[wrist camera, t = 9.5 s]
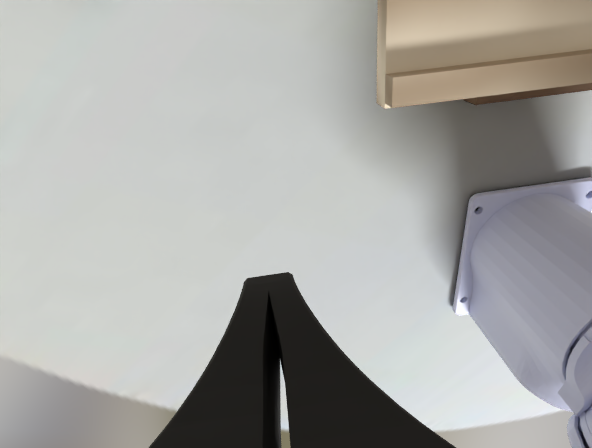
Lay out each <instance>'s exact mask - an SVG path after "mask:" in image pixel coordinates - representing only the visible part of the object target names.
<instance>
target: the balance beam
mask: <svg viewBox="0 0 592 448" xmlns="http://www.w3.org/2000/svg"><path fill="white" fill-rule="evenodd" d="M586 83H592V0H378V23H377V104H379V105H380V106H382V107H383V108H384V109H386V108H396V107H404V106H412V105H420V104H428V103H436V102H444V101H452V100H460V99H468V98H476V97H483V96H491V95H499V94H507V93H515V92H523V91H531V90H539V89H547V88H555V87H563V86H570V85H578V84H586Z"/></svg>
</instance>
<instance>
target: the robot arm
mask: <svg viewBox="0 0 592 448" xmlns="http://www.w3.org/2000/svg"><path fill="white" fill-rule="evenodd" d="M588 192H589V193H588ZM587 193H588V194H587ZM586 194H587V195H586ZM477 207H479V209H478V210H477V211H475V209H476V208H477ZM474 211H475V212H474ZM591 211H592V177H589V178H582V179H575V180H568V181H560V182H553V183H546V184H539V185H532V186H525V187H518V188H511V189H504V190H497V191H490V192H483V193H477V194H474V195H473V196H472V197H471V198H470V200H469V204H468V211H467V217H466V224H465V231H464V237H463V244H462V250H461V257H460V264H459V270H458V277H457V284H456V290H455V297H454V303H453V311H454V313H455V314H456V315H467V314H469V315H470V316H471V317H472V319H473V320H474V321H475V323H476V324H477V326H478V327H479V328H480V330H481V331H482V332H483V334H484V335H485V336H486V338H487V339H488V341H489V342H490V343H491V345H492V346H493V347H494V349H495V350H496V351H497V353H498V354H499V356H500V357H501V358H502V360H503V361H504V362H505V364H506V365H507V366H508V368H509V369H510V371H511V372H512V373H513V375H514V376H515V377H516V378H517V380H518V381H519V382H520V383H521V384H522V385H523V386H524V387H525V388H526V389H527V390H529V391H530V392H531V393H533V394H534V395H535V396H537V397H539V398H540V399H542V400H543V401H545V402H547V403H549V404H551V405H553V406H555V407H557V408H560V409H563V410H566V411H571V412H573V413H574V414H573V415H572V416H571V417H570V419H569V421H568V425H567V431H568V437H569V441H570V444H571V447H572V448H592V213H591ZM461 298H462V299H461ZM280 360H281V365H282V370H283V375H284V380H285V386H286V397H287V409H288V421H289V433H290V445H291V448H456V447H454V446H453V445H452V444H450V443H449V442H447V441H446V440H444V439H443V438H441V437H440V436H439V435H437V434H436V433H435V432H433V431H432V430H430V429H429V428H428V427H426V426H425V425H424V424H422V423H421V422H420V421H418V420H417V419H416V418H415V417H413V416H412V415H411V414H410V413H408V412H407V411H406V410H404V409H403V408H402V407H401V406H399V405H398V404H397V403H396V402H395V401H394V400H393V399H391V398H390V397H389V396H388V395H387V394H386V393H385V392H383V391H382V390H381V389H380V388H379V387H378V386H377V385H375V384H374V383H373V382H372V381H371V380H370V379H369V378H368V377H367V376H366V375H365V374H364V373H363V372H362V371H361V370H360V369H359V368H358V367H357V366H356V365H355V364H354V363H353V362H352V361H351V360H350V359H349V358H348V357H347V356H346V355H345V354H344V352H343V351H342V350H341V349H340V348H339V347H338V346H337V344H336V343H335V342H334V341H333V340H332V338H331V337H330V336H329V335H328V333H327V332H326V331H325V329H324V328H323V327H322V325H321V324H320V323H319V321H318V320H317V318H316V317H315V316H314V314H313V313H312V311H311V310H310V308H309V307H308V305H307V304H306V302H305V300H304V299H303V297H302V295H301V293H300V291H299V290H298V288H297V285H296V283H295V281H294V278H293V275H292V274H290V273H289V272H286V273H280V274H273V275H266V276H259V277H253V278H247V279H246V280H245V282H244V285H243V289H242V292H241V295H240V298H239V301H238V303H237V306H236V309H235V311H234V313H233V316H232V318H231V320H230V323H229V325H228V327H227V329H226V332H225V334H224V336H223V338H222V340H221V341H220V343H219V345H218V347H217V349H216V351H215V353H214V355H213V357H212V359H211V360H210V362H209V364H208V366H207V367H206V369H205V371H204V372H203V374H202V376H201V377H200V379H199V380H198V382H197V383H196V385H195V387H194V388H193V390H192V391H191V393H190V394H189V395H188V397H187V398H186V400H185V401H184V403H183V404H182V405H181V407H180V408H179V410H178V411H177V413H176V414H175V415H174V417H173V418H172V420H171V421H170V422H169V423H168V425H167V426H166V427H165V429H164V430H163V431H162V432H161V433H160V434H159V436H158V437H157V438H156V439H155V441H154V442H153V443H152V444H151V445H150V447H149V448H281V426H280Z"/></svg>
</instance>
